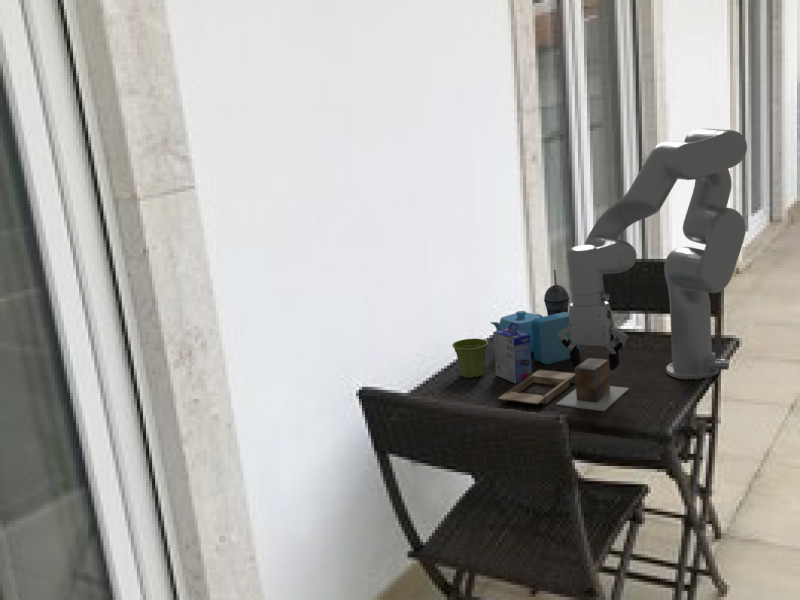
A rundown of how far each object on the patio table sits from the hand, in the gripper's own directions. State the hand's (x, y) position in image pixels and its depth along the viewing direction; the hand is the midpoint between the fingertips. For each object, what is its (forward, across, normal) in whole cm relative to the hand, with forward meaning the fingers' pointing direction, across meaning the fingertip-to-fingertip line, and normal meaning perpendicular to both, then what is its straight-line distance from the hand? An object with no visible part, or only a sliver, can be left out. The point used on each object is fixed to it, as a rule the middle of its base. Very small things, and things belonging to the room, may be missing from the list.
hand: (595, 366), depth 230 cm
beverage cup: (+8, +30, -41) cm, 51 cm away
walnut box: (+7, +1, +1) cm, 7 cm away
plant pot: (+7, +38, -5) cm, 39 cm away
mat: (+7, +1, +1) cm, 8 cm away
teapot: (+8, +35, -26) cm, 44 cm away
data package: (+8, +22, -23) cm, 33 cm away
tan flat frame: (+7, +15, +2) cm, 16 cm away
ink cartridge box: (+7, +26, -6) cm, 27 cm away
